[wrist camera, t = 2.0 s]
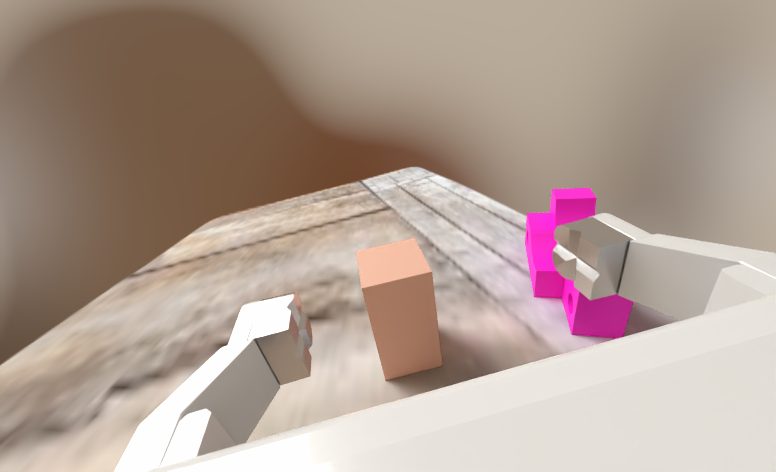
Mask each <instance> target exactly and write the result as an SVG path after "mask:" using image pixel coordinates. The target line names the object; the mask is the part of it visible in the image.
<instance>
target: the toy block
mask: <svg viewBox="0 0 776 472" xmlns="http://www.w3.org/2000/svg"><path fill="white" fill-rule="evenodd" d="M595 205H596V197H595V195H594V194H593V192H592V191H591V189H590V188H575V189H552V196H551V206H550V213H527V221H526V237H525V245H526V251H527V257H528V263H529V269H530V275H531V281H532V287H533V293H534V297H546V298H562V301H563V305H564V309H565V312H566V316H567V320H568V323H569V327H570V331H571V334H572V335H583V336H595V337H607V338H621V337H623V335H624V332H625V329H626V325H627V322H628V318H629V315H630V312H631V308H632V305H633V302H634V301H631V300H629V299H626V298H624V297H621V296H619V295H618V294H615V295H611V296H607V297H602V298H598V299H594V300H589V299H588V298H587V297H586V296H584V295H583V294H582V293H581V292H580V291H579V290H578V289H576V288H575V287H574V281H572V280H569V279H566V278H564V277H563V276H562V275H560V274H559V273H558V271H557V270H556V268H555V266H554V263H553V260H552V256H553V249H554V248H555V246H556V245H557V244H558V243H557V241H556V240H555V239H554V232H555V229H556V227H557V226H559V225H563V224H567V223H571V222H574V221H578V220H582V219H586V218H588V217H591V216H595Z"/></svg>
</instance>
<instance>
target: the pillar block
mask: <svg viewBox="0 0 776 472" xmlns="http://www.w3.org/2000/svg"><path fill="white" fill-rule="evenodd" d="M356 255H357V261H358V268H359V274H360V281H361V287H362V291H363V295H364V299H365V303H366V307H367V311H368V314H369V318H370V322H371V326H372V330H373V334H374V338H375V341H376V345H377V349H378V353H379V357H380V361H381V365H382V368H383V372H384V376H385V380H390V379H394V378H397V377H401V376H405V375H409V374H413V373H417V372H420V371H424V370H428V369H432V368H436V367H439V366H443V364H442V356H441V347H440V338H439V330H438V321H437V312H436V304H435V295H434V286H433V278H432V271H431V269H430V267H429V265H428V263H427V261H426V259H425V257H424V256H423V254H422V252H421V250H420V248H419V246H418V244H417V242H416V240H415V238H413V239H408V240H404V241H399V242H395V243H391V244H386V245H382V246H378V247H373V248H369V249H365V250H360V251H356Z"/></svg>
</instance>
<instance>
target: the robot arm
mask: <svg viewBox="0 0 776 472" xmlns="http://www.w3.org/2000/svg"><path fill="white" fill-rule="evenodd" d="M554 239H555V240H556V241H557V243H558V244H557V245H556V246H555V248H554V249H553V256H552V260H553V263H554V266H555V268H556V270H557V271H558V273H559V274H560V275H562V276H563V277H564V278H566V279H569V280H572V281H574V287H575V288H576V289H578V290H579V291H580V292H581V293H582V294H583V295H584V296H586V297H587V298H588V299H589V300H594V299H598V298H602V297H607V296H611V295H615V294H618V295H619V296H621V297H624V298H626V299H629V300H631V301H634V302H636V303H638V304H641V305H643V306H646V307H648V308H651V309H653V310H656V311H658V312H661V313H663V314H665V315H668V316H670V317H673V318H675V319H678V320H680V321H678V322H674V323H671V324H667V325H664V326H660V327H657V328H653V329H650V330H646V331H642V332H639V333H635V334H632V335H628V336H625V337H621V338H617V339H614V340H610V341H607V342H603V343H599V344H596V345H592V346H589V347H585V348H582V349H578V350H574V351H571V352H567V353H564V354H560V355H557V356H553V357H549V358H546V359H542V360H539V361H535V362H532V363H528V364H525V365H521V366H517V367H514V368H510V369H507V370H503V371H500V372H496V373H493V374H489V375H485V376H482V377H478V378H475V379H471V380H468V381H464V382H460V383H457V384H453V385H450V386H446V387H443V388H439V389H436V390H432V391H428V392H425V393H421V394H418V395H414V396H411V397H407V398H404V399H400V400H396V401H393V402H389V403H386V404H382V405H379V406H375V407H372V408H368V409H364V410H361V411H357V412H354V413H350V414H347V415H343V416H339V417H336V418H332V419H329V420H325V421H322V422H318V423H315V424H311V425H307V426H304V427H300V428H297V429H293V430H290V431H286V432H282V433H279V434H275V435H272V436H268V437H265V438H261V439H258V440H254V441H250V442H247V443H246V441H247V440H248V438H249V436H250V435H251V433H252V432H253V430H254V428H255V427H256V425H257V424H258V422H259V420H260V419H261V417H262V416H263V414H264V412H265V411H266V409H267V408H268V406H269V404H270V403H271V401H272V400H273V398H274V396H275V395H276V393H277V392H278V390H279V388H280V385H283V384H286V383H290V382H293V381H296V380H300V379H303V378H306V377H310V371H311V355H310V353H309V350H308V349H309V348H310V347H311V345H312V330H311V325H310V321H309V318H308V316H307V314H306V313H304V312H303V311H301V307H302V302H301V299H300V297H299V295H298V294H297V293H296V292H293V293H289V294H285V295H280V296H276V297H272V298H267V299H263V300H259V301H255V302H251V303H247V304H245V305H243V306H242V308H241V310H240V313H239V316H238V319H237V321H236V324H235V327H234V329H233V332H232V335H231V337H230V340H229V343H228V345H227V346H225V347H222V348H221V349H219V350H218V351H217V352H216V353H215V354H214V355H213V356H212V357H211V358H210V359H209V360H208V361H207V362H206V363H205V364H204V365H202V366H201V367H200V368H199V369H198V370H197V371H196V372H195V373H194V374H193V375H192V376H191V377H190V378H189V379H188V380H187V381H186V382H184V383H183V384H182V385H181V386H180V387H179V388H178V389H177V390H176V391H175V392H174V393H173V394H172V395H171V396H170V397H169V398H167V399H166V400H165V401H164V402H163V403H162V404H161V405H160V406H159V407H158V408H157V409H156V410H155V411H154V412H153V413H152V414H150V415H149V416H148V417H147V418H146V419H145V420H144V421H143V422H142V423H141V424H140V425H139V426H138V428H137V430H136V432H135V434H134V435H133V437H132V439H131V441H130V443H129V445H128V447H127V448H126V450H125V452H124V454H123V456H122V458H121V460H120V462H119V463H118V465H117V467H116V469H115V471H114V472H776V253H771V252H765V251H759V250H752V249H747V248H741V247H735V246H728V245H722V244H716V243H710V242H704V241H698V240H692V239H686V238H680V237H674V236H668V235H662V234H655V235H651V234H649V233H647V232H645V231H643V230H641V229H639V228H637V227H635V226H633V225H631V224H629V223H627V222H625V221H623V220H621V219H619V218H617V217H615V216H613V215H611V214H608V213H602V214H598V215H595V216H591V217H588V218H586V219H582V220H578V221H574V222H571V223H567V224H563V225H559V226H557V227H556V229H555V232H554Z"/></svg>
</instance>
